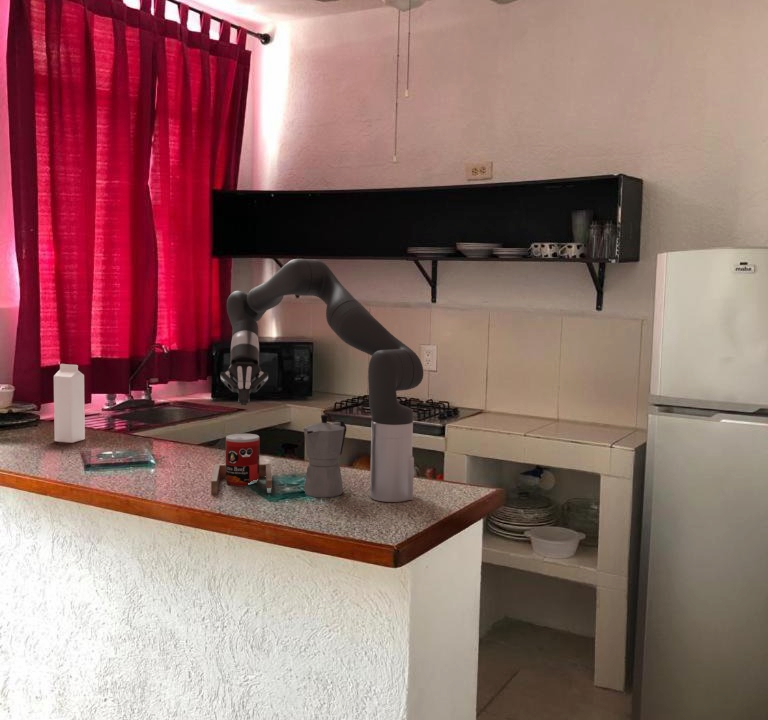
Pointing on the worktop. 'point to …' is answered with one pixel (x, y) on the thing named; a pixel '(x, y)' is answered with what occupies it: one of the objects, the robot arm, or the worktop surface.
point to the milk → (69, 404)
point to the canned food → (242, 459)
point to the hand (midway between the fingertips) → (243, 403)
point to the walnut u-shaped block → (221, 472)
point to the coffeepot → (324, 458)
